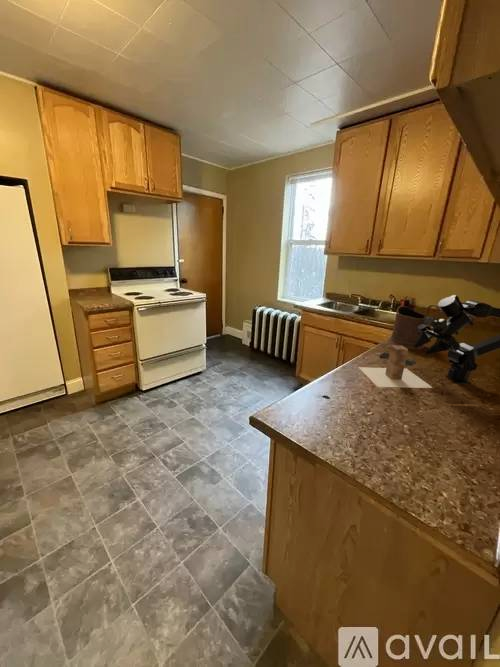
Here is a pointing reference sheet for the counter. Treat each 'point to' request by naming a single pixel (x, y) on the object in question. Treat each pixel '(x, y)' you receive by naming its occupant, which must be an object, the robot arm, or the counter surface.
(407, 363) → the phone
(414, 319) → the brown hollow rounded container
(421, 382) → the cutting board
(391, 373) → the walnut block
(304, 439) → the counter surface
